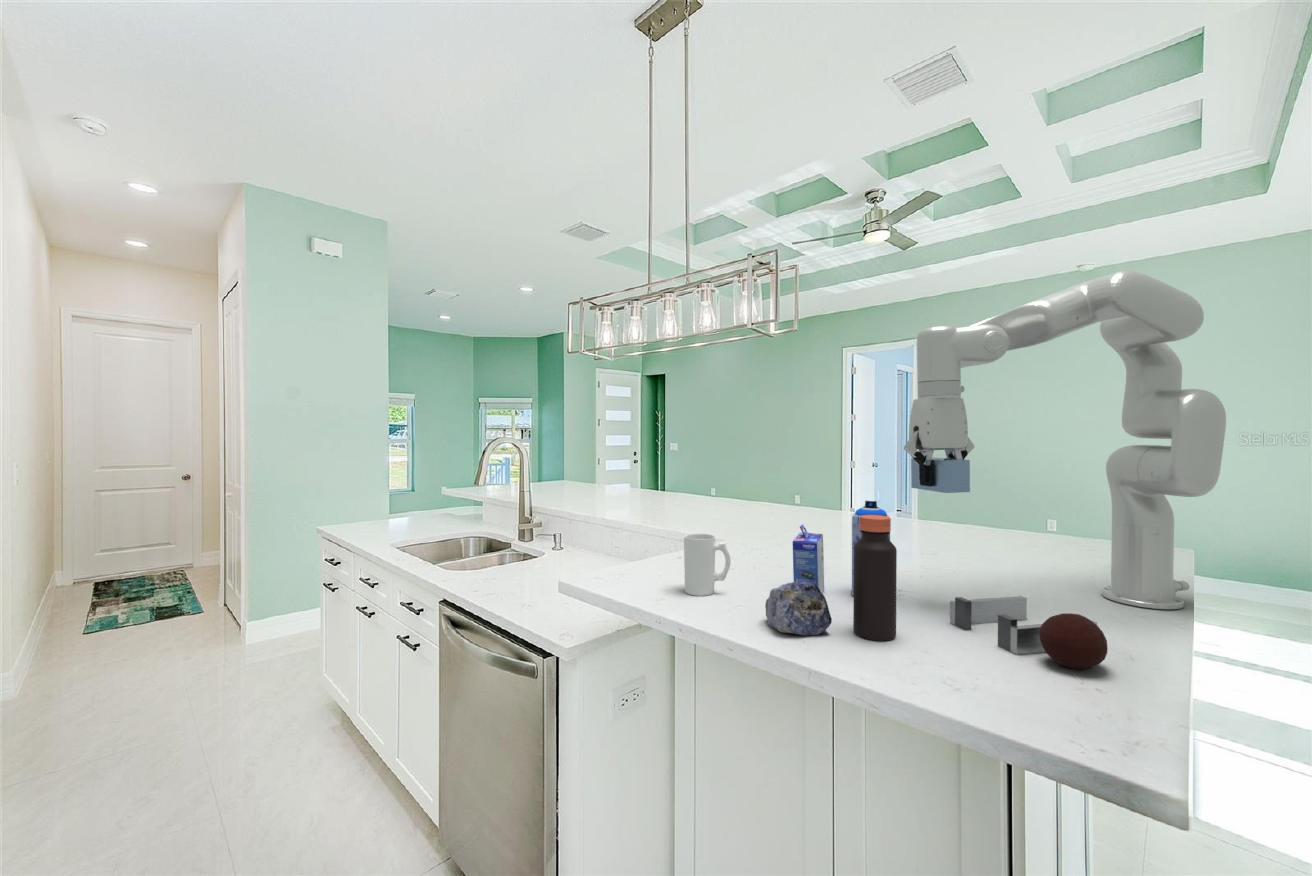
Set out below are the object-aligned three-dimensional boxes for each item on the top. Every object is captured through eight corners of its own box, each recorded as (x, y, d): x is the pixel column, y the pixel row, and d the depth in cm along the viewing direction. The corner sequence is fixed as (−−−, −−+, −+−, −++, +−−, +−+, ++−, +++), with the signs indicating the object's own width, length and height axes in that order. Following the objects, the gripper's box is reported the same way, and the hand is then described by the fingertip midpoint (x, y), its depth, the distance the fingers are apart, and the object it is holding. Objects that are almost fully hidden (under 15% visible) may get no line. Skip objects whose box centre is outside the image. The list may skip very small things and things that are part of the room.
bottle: (887, 645, 90) (888, 521, 89) (846, 634, 94) (847, 517, 94) (902, 633, 95) (902, 516, 94) (862, 624, 99) (863, 512, 99)
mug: (680, 595, 117) (680, 538, 117) (688, 586, 123) (688, 532, 123) (727, 599, 114) (727, 541, 114) (733, 590, 120) (733, 535, 120)
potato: (1023, 659, 84) (1024, 608, 84) (1069, 652, 87) (1070, 603, 87) (1077, 682, 76) (1077, 626, 76) (1126, 674, 79) (1126, 620, 79)
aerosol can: (848, 598, 114) (849, 501, 114) (852, 588, 122) (853, 497, 121) (890, 603, 111) (890, 504, 111) (891, 593, 118) (892, 499, 118)
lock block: (933, 486, 113) (932, 456, 113) (970, 492, 103) (969, 458, 103) (911, 487, 112) (911, 457, 112) (946, 493, 102) (946, 459, 102)
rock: (845, 620, 94) (814, 568, 95) (797, 655, 91) (766, 601, 92) (816, 613, 104) (789, 566, 105) (773, 643, 102) (745, 595, 102)
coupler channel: (1021, 617, 103) (1021, 590, 103) (1096, 647, 89) (1097, 616, 88) (950, 623, 100) (950, 595, 100) (1016, 654, 86) (1017, 622, 86)
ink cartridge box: (798, 586, 123) (799, 521, 123) (824, 589, 121) (824, 523, 121) (791, 598, 114) (791, 528, 114) (819, 602, 112) (819, 530, 112)
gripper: (962, 392, 113) (963, 482, 113) (887, 393, 109) (888, 485, 110) (991, 390, 105) (992, 485, 106) (912, 390, 102) (913, 488, 102)
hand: (939, 484), depth 108 cm, fingers closed on lock block, 5 cm apart
